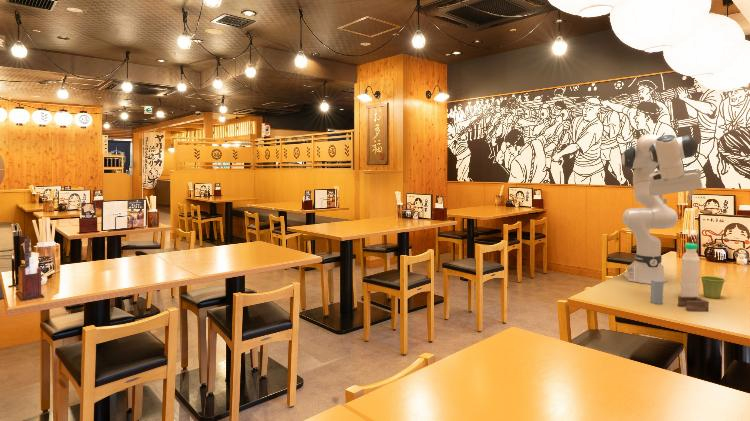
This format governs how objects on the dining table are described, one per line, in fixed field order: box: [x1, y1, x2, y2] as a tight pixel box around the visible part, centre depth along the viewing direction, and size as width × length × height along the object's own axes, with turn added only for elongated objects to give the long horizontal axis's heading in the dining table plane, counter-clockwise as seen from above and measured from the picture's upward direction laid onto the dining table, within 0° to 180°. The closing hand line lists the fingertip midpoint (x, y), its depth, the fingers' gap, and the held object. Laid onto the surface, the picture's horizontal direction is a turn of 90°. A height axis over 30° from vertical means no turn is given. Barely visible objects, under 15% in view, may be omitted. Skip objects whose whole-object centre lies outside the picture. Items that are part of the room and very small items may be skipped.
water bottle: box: [679, 242, 701, 298], centre depth 219 cm, size 7×7×25 cm
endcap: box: [677, 296, 710, 312], centre depth 203 cm, size 8×8×4 cm
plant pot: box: [700, 275, 726, 299], centre depth 220 cm, size 9×9×9 cm
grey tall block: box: [649, 280, 664, 305], centre depth 211 cm, size 4×4×10 cm
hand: (677, 201), depth 213 cm, fingers open, 8 cm apart
